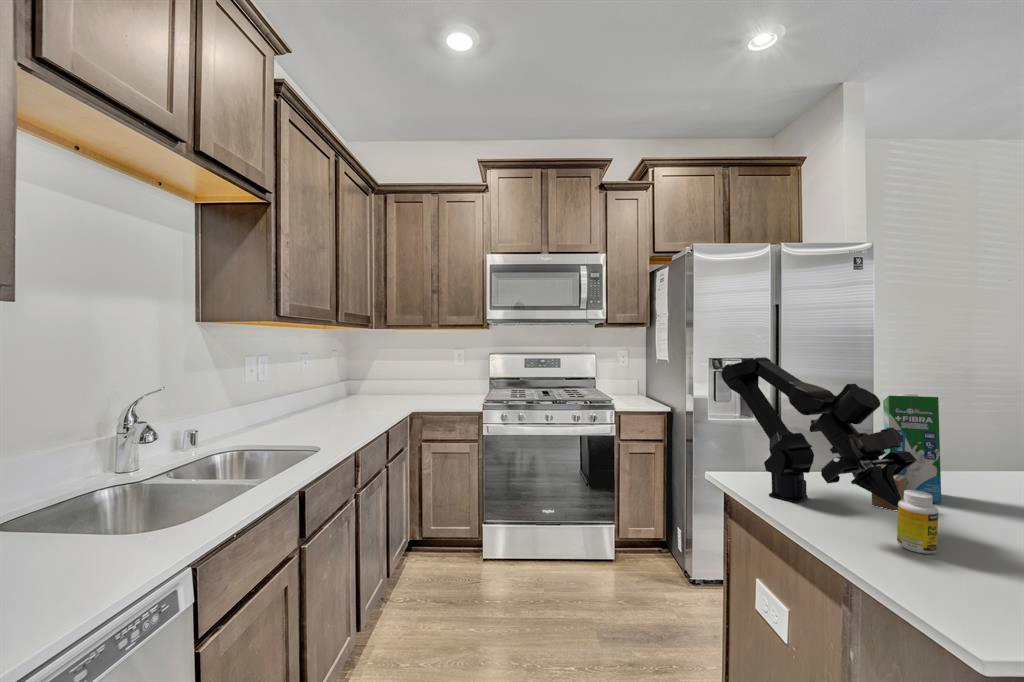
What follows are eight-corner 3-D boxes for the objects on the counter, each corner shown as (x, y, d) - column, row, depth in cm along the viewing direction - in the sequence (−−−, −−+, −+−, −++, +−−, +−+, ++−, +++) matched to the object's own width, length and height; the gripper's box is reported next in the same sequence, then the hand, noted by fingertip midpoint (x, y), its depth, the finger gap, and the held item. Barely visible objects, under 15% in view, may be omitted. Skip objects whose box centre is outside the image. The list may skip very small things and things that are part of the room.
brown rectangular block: (871, 505, 106) (871, 474, 106) (879, 501, 109) (878, 471, 109) (899, 512, 102) (898, 479, 102) (906, 507, 104) (905, 475, 104)
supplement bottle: (931, 558, 80) (933, 501, 80) (892, 545, 85) (893, 492, 84) (941, 549, 83) (943, 494, 83) (902, 537, 88) (904, 485, 88)
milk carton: (932, 492, 113) (929, 392, 113) (941, 504, 105) (938, 396, 106) (885, 487, 118) (882, 391, 118) (891, 497, 110) (888, 395, 110)
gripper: (831, 417, 90) (891, 489, 79) (904, 411, 94) (971, 479, 83) (799, 448, 98) (850, 518, 87) (868, 442, 102) (925, 508, 91)
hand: (900, 505), depth 87 cm, fingers closed, pressing on supplement bottle
